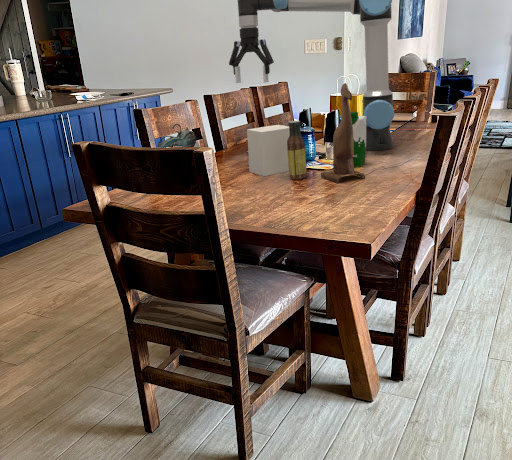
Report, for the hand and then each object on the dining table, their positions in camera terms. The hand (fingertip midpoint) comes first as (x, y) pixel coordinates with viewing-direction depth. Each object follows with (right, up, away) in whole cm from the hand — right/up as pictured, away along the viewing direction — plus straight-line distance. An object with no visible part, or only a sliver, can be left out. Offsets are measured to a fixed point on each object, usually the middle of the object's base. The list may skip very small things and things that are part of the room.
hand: (252, 82), depth 211 cm
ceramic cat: (-27, -42, -21) cm, 54 cm away
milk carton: (+39, -36, -16) cm, 55 cm away
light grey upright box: (+5, -37, -12) cm, 39 cm away
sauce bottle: (+16, -43, -30) cm, 54 cm away
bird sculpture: (+32, -43, -34) cm, 63 cm away
